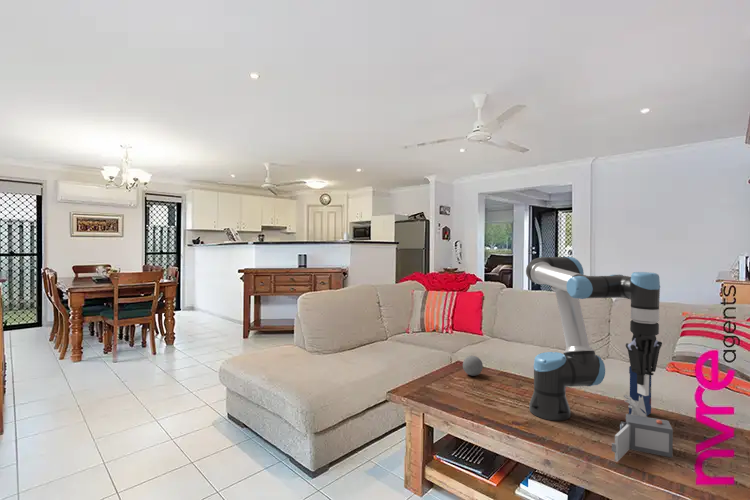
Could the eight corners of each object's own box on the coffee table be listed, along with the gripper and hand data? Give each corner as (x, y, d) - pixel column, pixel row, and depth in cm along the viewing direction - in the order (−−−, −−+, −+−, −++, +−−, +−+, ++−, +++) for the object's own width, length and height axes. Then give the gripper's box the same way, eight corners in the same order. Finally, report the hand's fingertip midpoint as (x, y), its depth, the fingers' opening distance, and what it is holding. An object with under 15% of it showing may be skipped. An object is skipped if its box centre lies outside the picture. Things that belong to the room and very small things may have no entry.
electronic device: (643, 420, 151) (643, 369, 151) (628, 416, 155) (628, 365, 155) (652, 414, 157) (652, 364, 157) (637, 409, 161) (637, 360, 161)
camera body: (621, 447, 132) (621, 418, 132) (619, 438, 139) (619, 410, 138) (672, 457, 126) (672, 427, 126) (668, 447, 132) (668, 418, 132)
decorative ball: (463, 378, 199) (463, 358, 199) (462, 371, 209) (462, 352, 209) (483, 379, 198) (483, 359, 197) (481, 372, 208) (481, 353, 207)
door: (624, 446, 132) (624, 422, 132) (630, 448, 131) (631, 424, 130) (611, 459, 124) (611, 434, 124) (618, 462, 123) (618, 436, 123)
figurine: (629, 417, 154) (629, 387, 154) (652, 425, 148) (652, 393, 148) (617, 425, 148) (617, 393, 147) (640, 433, 142) (640, 400, 141)
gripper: (648, 317, 131) (647, 387, 132) (618, 320, 127) (617, 392, 128) (671, 321, 124) (669, 396, 125) (640, 325, 120) (638, 401, 121)
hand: (643, 394), depth 127 cm, fingers closed
